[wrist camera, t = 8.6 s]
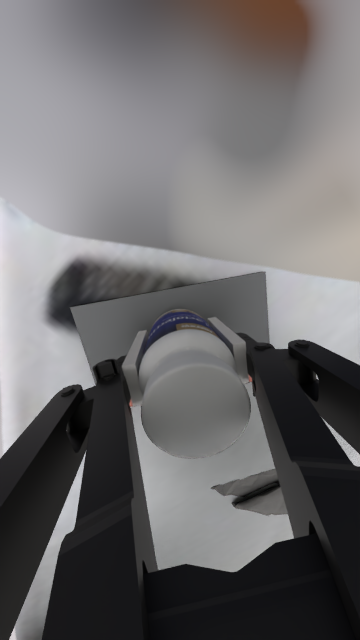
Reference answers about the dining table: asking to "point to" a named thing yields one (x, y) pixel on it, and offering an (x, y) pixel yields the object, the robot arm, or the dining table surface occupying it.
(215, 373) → the pill bottle
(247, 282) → the mat
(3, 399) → the dining table surface
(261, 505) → the cloth
